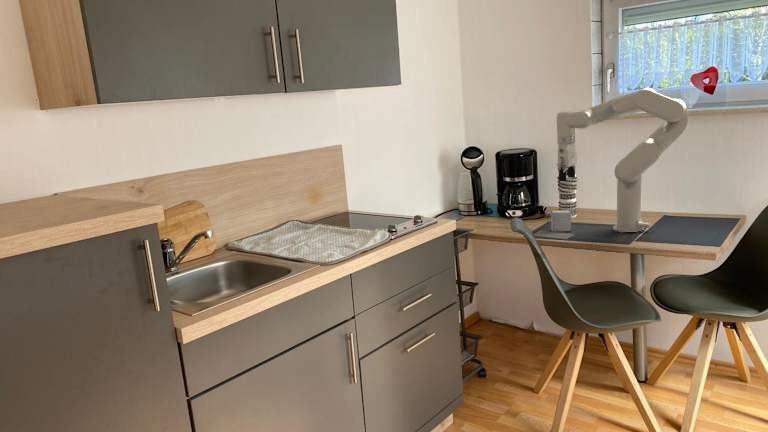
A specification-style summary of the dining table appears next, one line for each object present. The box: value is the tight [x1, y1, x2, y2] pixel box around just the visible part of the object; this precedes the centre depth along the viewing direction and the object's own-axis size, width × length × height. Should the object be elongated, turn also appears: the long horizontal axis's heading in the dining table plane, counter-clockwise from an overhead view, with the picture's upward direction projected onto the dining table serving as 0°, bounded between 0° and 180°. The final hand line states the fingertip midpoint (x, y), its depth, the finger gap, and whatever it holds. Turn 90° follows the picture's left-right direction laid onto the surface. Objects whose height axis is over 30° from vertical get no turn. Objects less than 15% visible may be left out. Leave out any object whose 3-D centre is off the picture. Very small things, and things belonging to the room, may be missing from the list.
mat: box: [533, 230, 576, 241], centre depth 264 cm, size 16×9×1 cm, turn 50°
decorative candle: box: [556, 167, 578, 219], centre depth 294 cm, size 9×9×25 cm
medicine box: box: [550, 210, 572, 233], centre depth 269 cm, size 8×4×9 cm, turn 84°
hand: (567, 179), depth 271 cm, fingers open, 8 cm apart
